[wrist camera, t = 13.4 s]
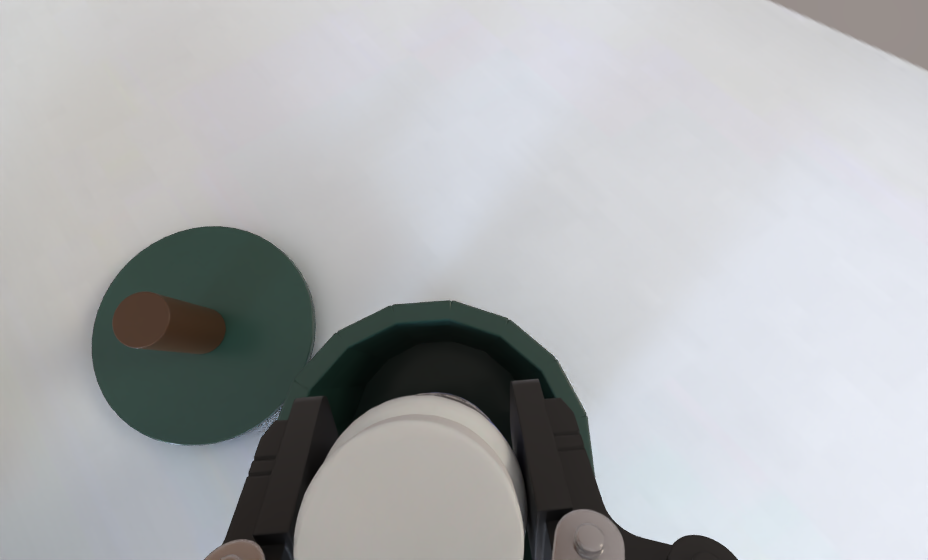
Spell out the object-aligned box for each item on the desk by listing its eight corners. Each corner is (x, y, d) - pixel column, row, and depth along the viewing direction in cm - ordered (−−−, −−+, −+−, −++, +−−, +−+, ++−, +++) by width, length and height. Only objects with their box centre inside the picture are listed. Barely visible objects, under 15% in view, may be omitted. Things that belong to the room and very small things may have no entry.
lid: (99, 452, 25) (-15, 475, 19) (113, 239, 27) (15, 200, 21) (321, 433, 25) (278, 450, 19) (317, 224, 27) (277, 182, 21)
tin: (345, 546, 24) (267, 661, 14) (339, 337, 26) (268, 313, 16) (552, 527, 24) (614, 628, 15) (530, 322, 26) (572, 290, 17)
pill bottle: (532, 449, 16) (604, 515, 8) (447, 570, 16) (434, 777, 7) (422, 363, 17) (389, 344, 9) (335, 476, 16) (208, 572, 8)
